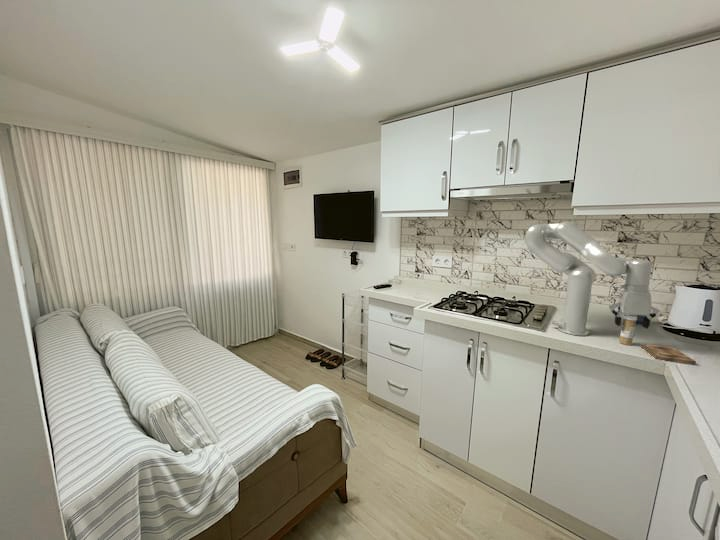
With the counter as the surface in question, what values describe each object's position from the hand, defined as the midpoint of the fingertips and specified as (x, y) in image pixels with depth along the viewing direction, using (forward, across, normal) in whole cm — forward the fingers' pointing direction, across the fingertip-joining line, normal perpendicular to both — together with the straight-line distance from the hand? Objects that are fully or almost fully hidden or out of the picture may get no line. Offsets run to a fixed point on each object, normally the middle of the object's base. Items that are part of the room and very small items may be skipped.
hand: (631, 326), depth 133 cm
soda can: (+9, +18, +38) cm, 42 cm away
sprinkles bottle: (+8, -1, 0) cm, 9 cm away
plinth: (+9, +9, -8) cm, 15 cm away
